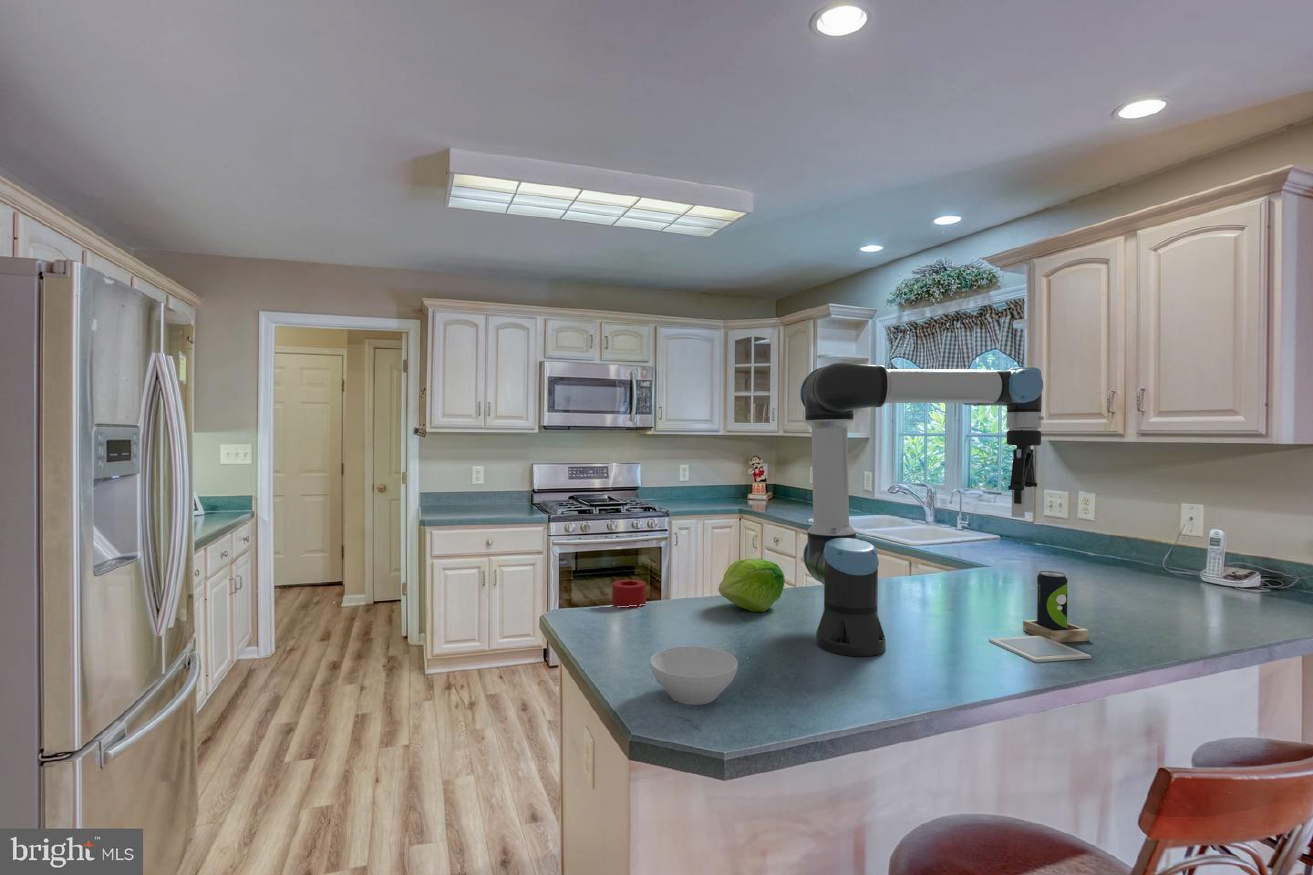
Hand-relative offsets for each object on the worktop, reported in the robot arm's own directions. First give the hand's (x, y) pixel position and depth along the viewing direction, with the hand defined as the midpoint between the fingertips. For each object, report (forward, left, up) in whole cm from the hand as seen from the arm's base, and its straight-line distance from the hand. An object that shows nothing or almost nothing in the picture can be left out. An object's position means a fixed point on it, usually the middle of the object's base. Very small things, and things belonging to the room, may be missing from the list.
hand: (1022, 514), depth 159 cm
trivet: (-8, -15, -28) cm, 33 cm away
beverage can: (+3, -6, -29) cm, 29 cm away
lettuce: (-61, +28, -29) cm, 73 cm away
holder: (+4, -7, -28) cm, 29 cm away
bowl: (-91, -27, -29) cm, 100 cm away
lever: (-93, +41, -29) cm, 105 cm away
